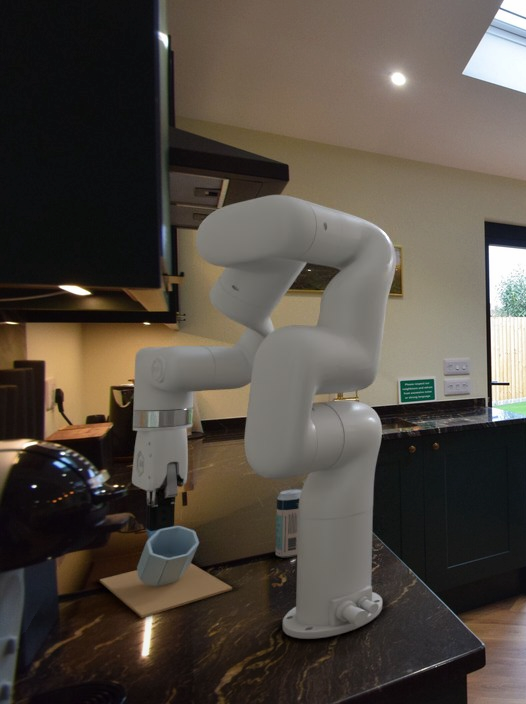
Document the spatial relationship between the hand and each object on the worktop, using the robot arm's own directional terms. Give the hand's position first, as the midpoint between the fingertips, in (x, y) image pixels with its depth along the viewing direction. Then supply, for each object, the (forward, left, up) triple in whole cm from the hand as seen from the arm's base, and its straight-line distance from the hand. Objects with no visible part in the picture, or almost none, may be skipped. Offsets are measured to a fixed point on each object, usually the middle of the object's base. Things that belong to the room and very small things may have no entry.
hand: (160, 528), depth 88 cm
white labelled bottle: (-5, -18, -9) cm, 21 cm away
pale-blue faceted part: (-6, 0, -6) cm, 9 cm away
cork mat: (-3, 0, -9) cm, 9 cm away
